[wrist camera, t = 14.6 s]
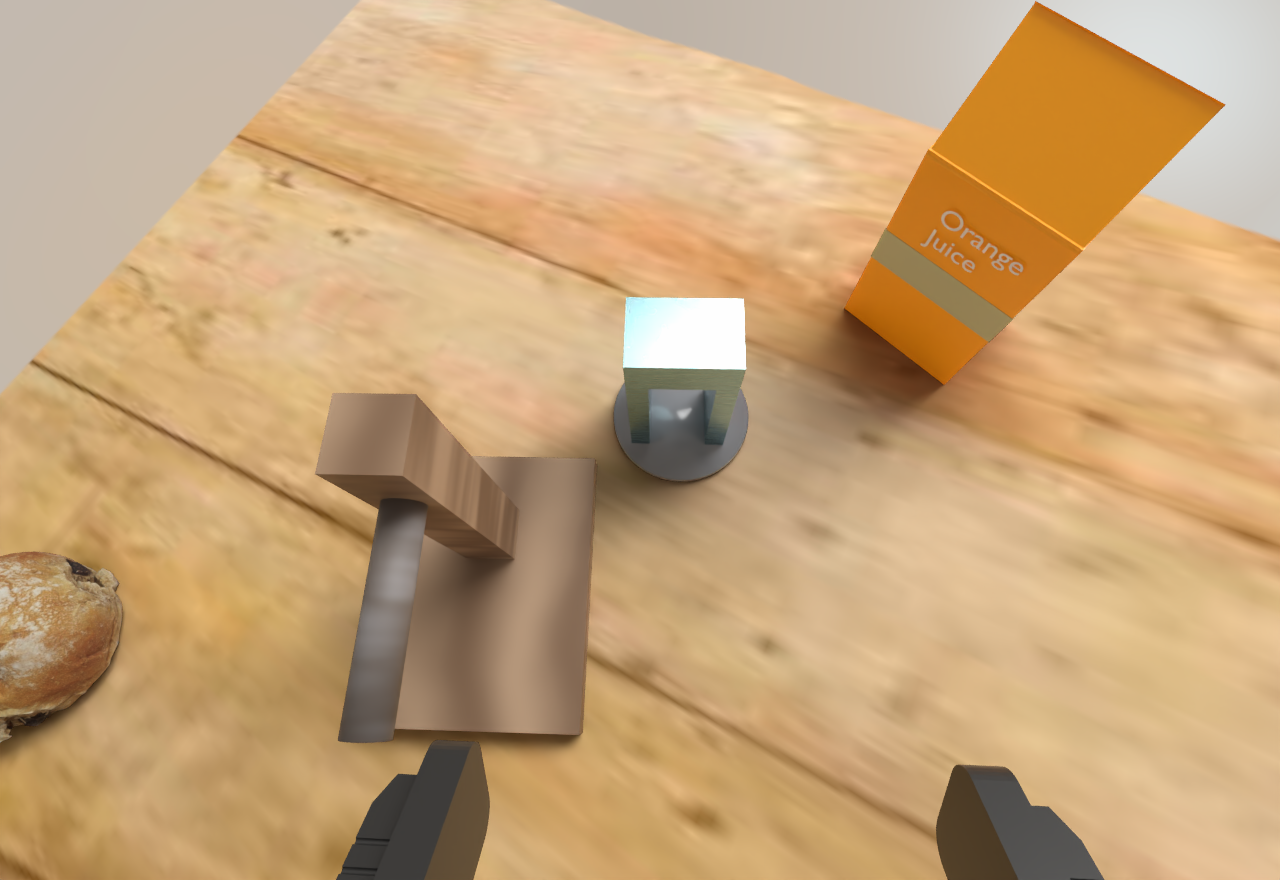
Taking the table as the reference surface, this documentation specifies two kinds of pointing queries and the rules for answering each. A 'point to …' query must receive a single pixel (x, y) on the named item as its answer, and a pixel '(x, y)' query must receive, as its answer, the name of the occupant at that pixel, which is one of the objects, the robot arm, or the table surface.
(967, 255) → the orange juice
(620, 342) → the table surface
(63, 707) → the bread roll
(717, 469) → the coaster
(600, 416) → the table surface
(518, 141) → the table surface
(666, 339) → the c link
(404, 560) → the stand
